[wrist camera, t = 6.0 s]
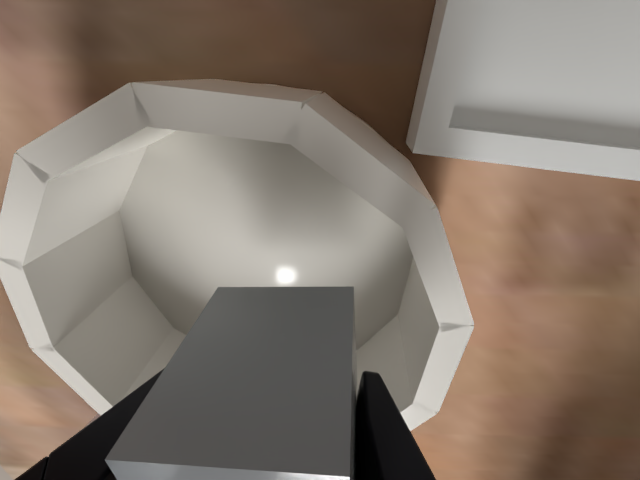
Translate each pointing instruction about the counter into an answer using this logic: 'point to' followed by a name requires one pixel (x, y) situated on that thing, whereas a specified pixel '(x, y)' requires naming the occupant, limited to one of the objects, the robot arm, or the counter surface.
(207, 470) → the grey block
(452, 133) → the tray
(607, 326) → the counter surface
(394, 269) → the bowl
